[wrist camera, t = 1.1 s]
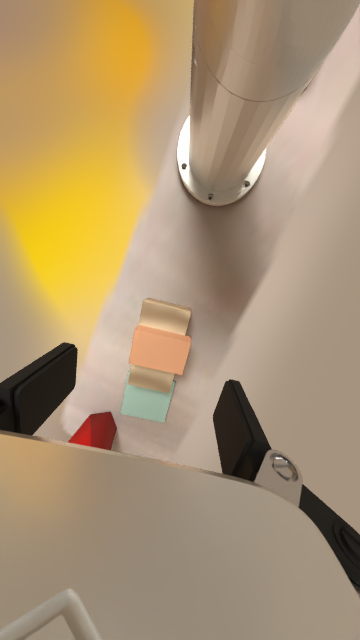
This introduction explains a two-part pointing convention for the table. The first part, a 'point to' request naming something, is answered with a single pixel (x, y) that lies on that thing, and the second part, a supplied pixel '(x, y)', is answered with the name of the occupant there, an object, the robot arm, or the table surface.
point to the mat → (146, 402)
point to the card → (159, 349)
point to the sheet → (163, 319)
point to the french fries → (96, 431)
